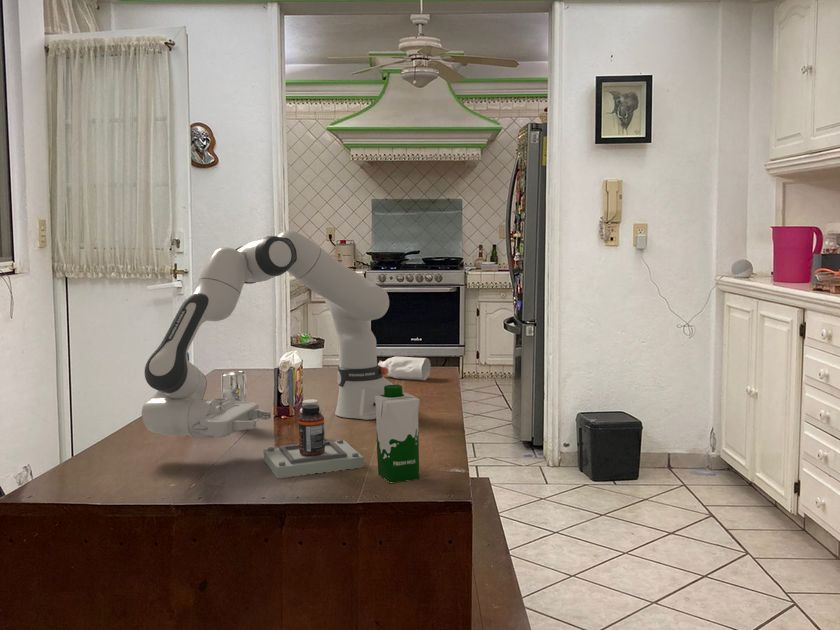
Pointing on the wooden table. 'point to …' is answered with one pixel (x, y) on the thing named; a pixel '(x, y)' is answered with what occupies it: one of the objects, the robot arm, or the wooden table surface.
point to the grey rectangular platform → (312, 459)
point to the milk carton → (397, 434)
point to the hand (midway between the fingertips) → (262, 420)
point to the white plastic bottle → (407, 367)
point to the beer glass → (234, 386)
